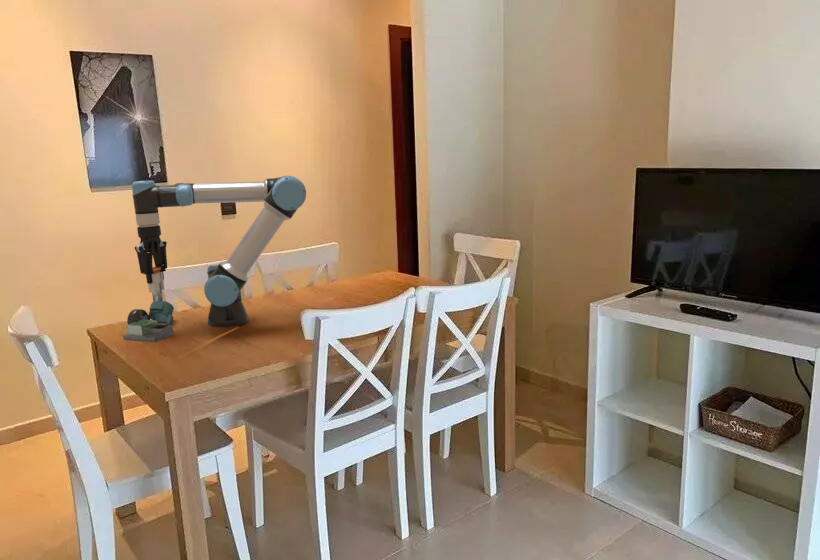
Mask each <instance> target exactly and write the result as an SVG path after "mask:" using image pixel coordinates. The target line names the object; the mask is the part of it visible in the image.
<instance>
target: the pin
mask: <svg viewBox="0 0 820 560" xmlns="http://www.w3.org/2000/svg"><path fill="white" fill-rule="evenodd" d="M152 268H153V273H152V274H155V282H156V290H157V292H156V293H154V292H151V293H152V302H159V301H164V295H163V290H162V286H161V278H160V270H161V267H155V266H152ZM148 271H149V270H148Z"/></svg>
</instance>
